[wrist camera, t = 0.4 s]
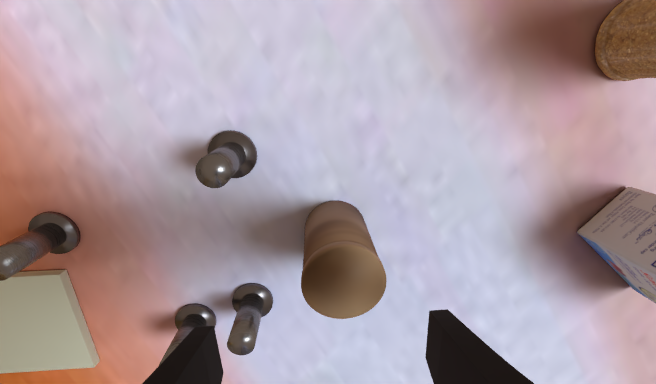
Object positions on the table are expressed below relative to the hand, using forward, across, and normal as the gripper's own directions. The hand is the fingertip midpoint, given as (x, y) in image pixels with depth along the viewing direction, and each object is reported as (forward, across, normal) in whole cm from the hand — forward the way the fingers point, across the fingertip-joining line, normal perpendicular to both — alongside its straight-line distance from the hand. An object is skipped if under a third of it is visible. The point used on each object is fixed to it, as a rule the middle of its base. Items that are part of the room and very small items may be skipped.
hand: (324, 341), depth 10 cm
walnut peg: (+10, -1, +1) cm, 10 cm away
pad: (+10, +21, +7) cm, 24 cm away
